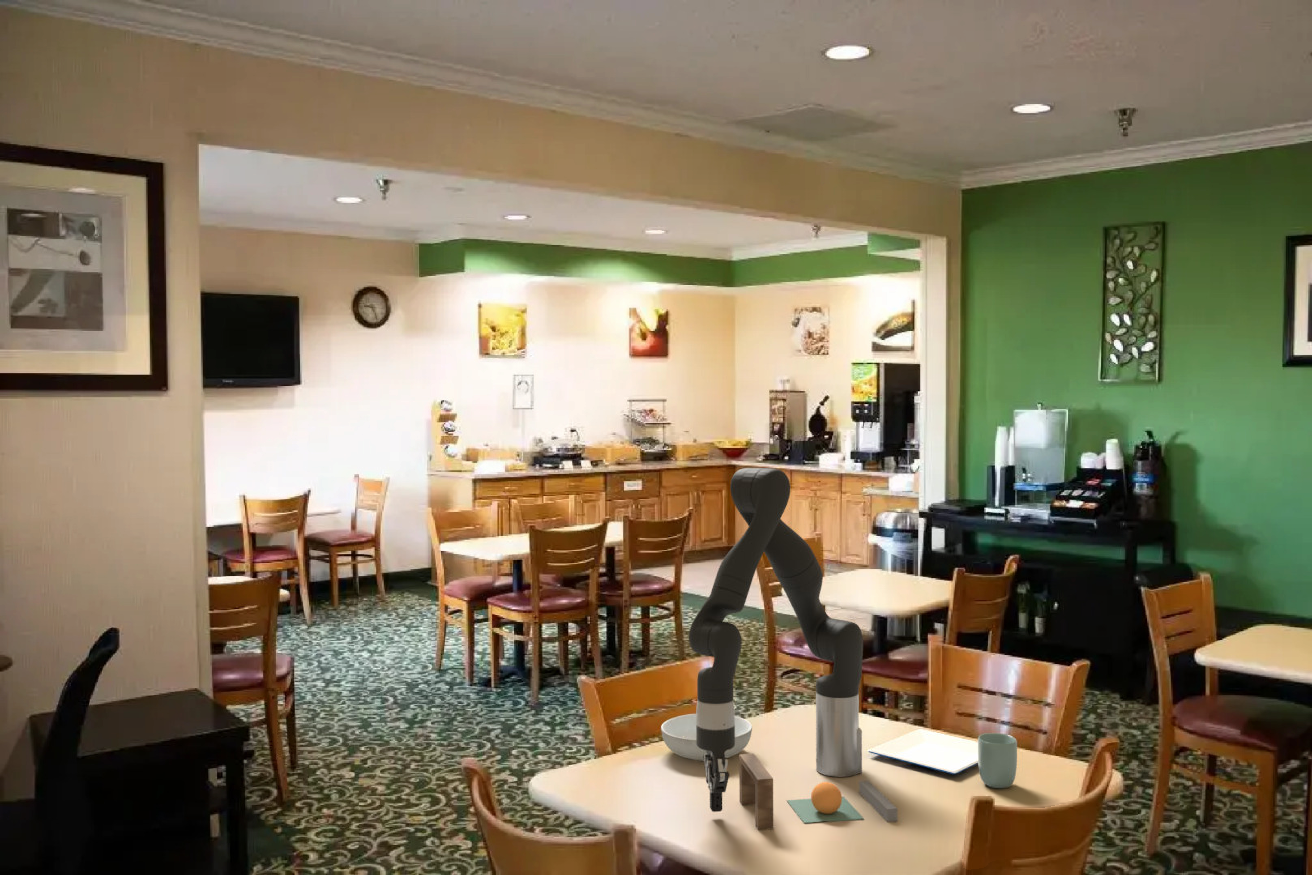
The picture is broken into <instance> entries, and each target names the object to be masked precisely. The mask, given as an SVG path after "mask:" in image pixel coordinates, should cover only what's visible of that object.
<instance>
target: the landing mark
mask: <svg viewBox="0 0 1312 875" xmlns="http://www.w3.org/2000/svg"><path fill="white" fill-rule="evenodd" d="M786 802H787V803H788V805H789V804H790V805H789V806H790V807H791V809H792V808H793V809H794V810H793V809H792V810H793V811H794V813H795V814H796V813H797V814H796V816H798V818H799V817H800V818H799V819H800V821H801V822H802V821H803V822H804V823H806V824H814V823H813V822H819V821H820V823H822V822H821V821H834V822H846V821H860V820H861V819H862V820H865V819H864V817H863V816H862V815H861V814H860V812H858V810H857V809H856V808H855V807H854V806H853V805H852V803H850V802H849V801H848V800H847V799H846V797H845V796H842V803H841V805H840V807H839V809H838V810H837V811H835V812H834V813H831V814H823V813H821V812H819V811H817V810H816V809H815V807H814V806H813V804H812V801H811V798H806V799H805V798H803V799H788V800H786ZM803 822H802V823H803ZM804 823H803V824H804Z"/></svg>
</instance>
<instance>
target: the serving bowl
mask: <svg viewBox="0 0 1312 875" xmlns="http://www.w3.org/2000/svg"><path fill="white" fill-rule="evenodd" d="M660 732H661V735H662V740H663V742H664V744H665V745H666V747H668V749H669V750H670V751H671V752H672V753H674V754H676V755H677V756H679V757H682V758H685V759H690V760H695V761H699V762H700V761H701V762H704V759H703V755H704V754H707V753H706V751H705V750H702V749H700V748H699V747H698V746H697V744H696V713H689V714H684V715H683V714H682V715H679V716H676V717H672V718H670V719H667V720H666V721H664V722H663V723H662V724H661V727H660ZM752 732H753V725H752V723H751V722H750V721H748V720H747V719H745V718H743V717H740V716H736V715H735V745H734V747H733V748H732V749H730V750H727V751H725V753H724V754H725V758H726V757H727V759H728V758H731V757H733V756H735V755H737V754H739V753H741V752H742V751H743V750H744V749H745V748H746V747H747V746H748V744H749V742H750V739H751V737H752ZM683 736H684V737H683Z"/></svg>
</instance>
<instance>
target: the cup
mask: <svg viewBox="0 0 1312 875" xmlns="http://www.w3.org/2000/svg"><path fill="white" fill-rule="evenodd" d="M977 742H978V764H977V766H978V772H979V778H980V780H981V781H982V782H983V783H984V785H986V786H987V787H990V788H992V789H993V788H994V789H1006V788H1009V787H1011V786H1012V785H1013V784H1014V782H1015V779H1016V777H1017V776H1016V775H1017V765H1018V741H1017V739H1016V738H1015V737H1014V736H1012V735H1009V734H1006V733H999V732H989V733H987V732H985V733H982V734H979V736H978V738H977Z"/></svg>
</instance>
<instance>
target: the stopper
mask: <svg viewBox="0 0 1312 875" xmlns="http://www.w3.org/2000/svg"><path fill="white" fill-rule="evenodd" d="M858 793H859V794H860V795H861V796H862V797H863V798H864V799H865V800H866V802H867V803H868V804H869V805H870V804H871V805H870V806H872V808H873V809H874V810H875V811H876V812H877V813H878V814H879V815H880V816H881V817H882V818H883V820H885V822H887V823H889V822H890V821H891V822H898V808H897V807H896V805H895V804H893V802H891V801H890V800H889V799H888V798H887V797H886V796H885V795H884V794H883V793H882V792H881V791H880V790H879V789H878V788H877V787H876V786H875V785H874V784H873V783H872V782H871V781H870V780H867V779H866V780H859V781H858Z"/></svg>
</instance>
